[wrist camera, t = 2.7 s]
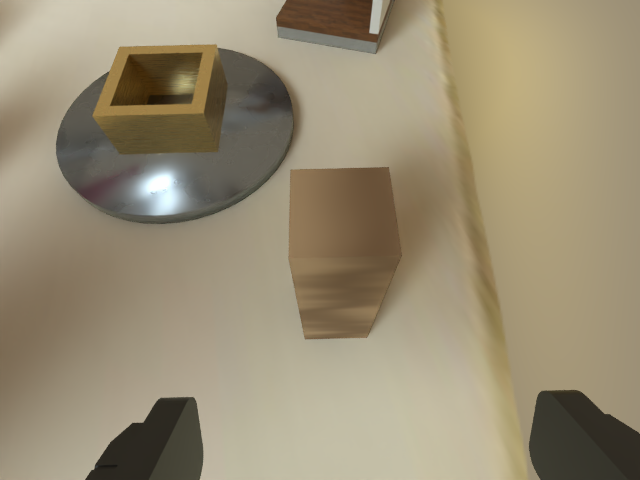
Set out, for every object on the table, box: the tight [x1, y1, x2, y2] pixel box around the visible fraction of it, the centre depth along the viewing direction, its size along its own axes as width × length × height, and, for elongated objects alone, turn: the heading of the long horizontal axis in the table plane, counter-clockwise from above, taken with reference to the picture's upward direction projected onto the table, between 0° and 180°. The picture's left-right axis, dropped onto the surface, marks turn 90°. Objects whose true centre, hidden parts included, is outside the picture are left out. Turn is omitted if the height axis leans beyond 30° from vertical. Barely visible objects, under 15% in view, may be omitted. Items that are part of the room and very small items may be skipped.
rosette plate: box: [56, 45, 293, 224], centre depth 30 cm, size 20×20×5 cm
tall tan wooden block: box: [289, 167, 402, 339], centre depth 19 cm, size 4×4×12 cm
